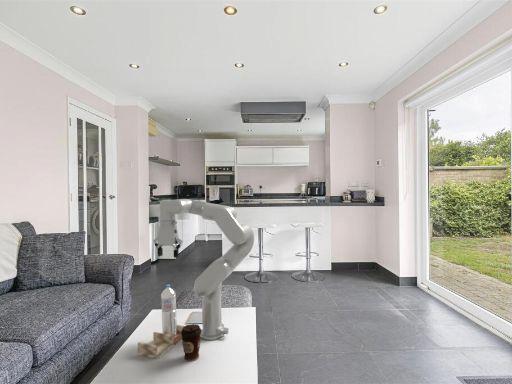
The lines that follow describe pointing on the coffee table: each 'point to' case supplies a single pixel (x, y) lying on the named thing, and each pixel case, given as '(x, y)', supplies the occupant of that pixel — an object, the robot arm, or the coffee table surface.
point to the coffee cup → (191, 341)
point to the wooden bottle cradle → (159, 344)
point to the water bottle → (169, 312)
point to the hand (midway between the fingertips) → (168, 256)
